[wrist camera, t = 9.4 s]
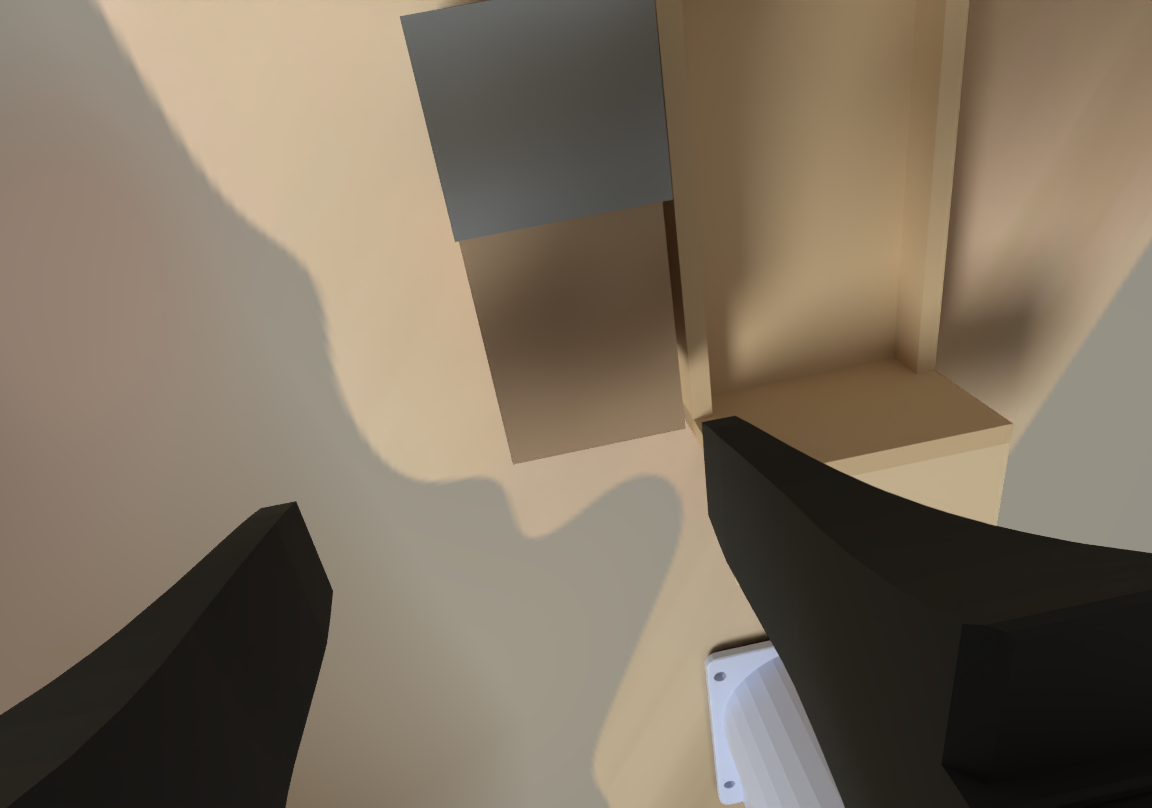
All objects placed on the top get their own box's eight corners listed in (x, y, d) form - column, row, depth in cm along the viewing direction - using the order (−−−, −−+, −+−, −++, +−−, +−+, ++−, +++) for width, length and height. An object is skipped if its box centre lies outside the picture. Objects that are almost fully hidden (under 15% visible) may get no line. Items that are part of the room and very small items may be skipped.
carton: (901, 444, 24) (996, 530, 20) (689, 489, 24) (738, 586, 20) (958, -339, 15) (1159, -505, 11) (613, -284, 15) (672, -431, 10)
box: (646, 360, 22) (696, 447, 17) (506, 388, 21) (515, 486, 17) (601, -5, 17) (651, -29, 12) (421, 28, 17) (399, 16, 12)
